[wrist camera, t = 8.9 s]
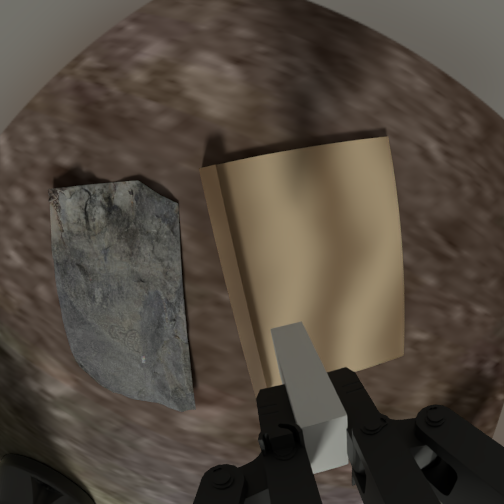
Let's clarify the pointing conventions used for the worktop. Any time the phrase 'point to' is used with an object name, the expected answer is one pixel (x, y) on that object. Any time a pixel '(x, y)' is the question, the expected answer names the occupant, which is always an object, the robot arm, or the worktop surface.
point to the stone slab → (123, 289)
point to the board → (312, 252)
